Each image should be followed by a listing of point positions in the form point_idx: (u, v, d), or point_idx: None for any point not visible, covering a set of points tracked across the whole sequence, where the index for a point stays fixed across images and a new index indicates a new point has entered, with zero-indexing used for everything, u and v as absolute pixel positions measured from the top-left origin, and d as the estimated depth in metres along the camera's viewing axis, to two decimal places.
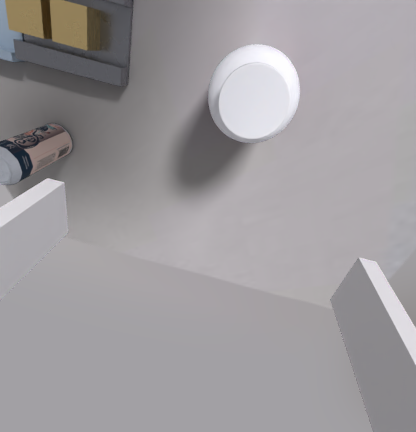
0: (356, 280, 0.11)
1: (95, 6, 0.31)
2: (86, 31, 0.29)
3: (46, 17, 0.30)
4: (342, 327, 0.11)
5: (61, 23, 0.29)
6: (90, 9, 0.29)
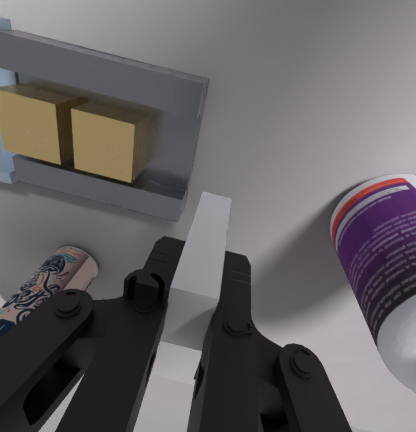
0: None
1: (142, 109, 0.19)
2: (131, 157, 0.18)
3: (65, 131, 0.18)
4: None
5: (89, 145, 0.18)
6: (139, 124, 0.17)
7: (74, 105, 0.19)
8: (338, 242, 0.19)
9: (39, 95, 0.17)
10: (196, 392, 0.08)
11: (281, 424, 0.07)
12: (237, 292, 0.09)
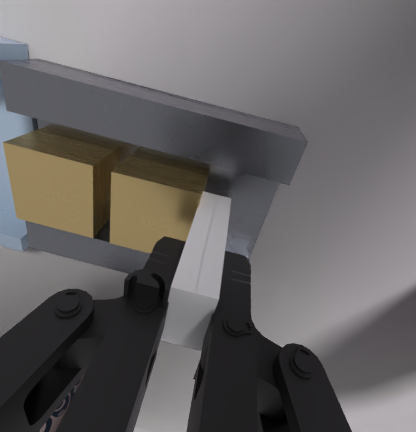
0: None
1: (203, 163, 0.14)
2: None
3: (101, 195, 0.13)
4: None
5: (133, 217, 0.13)
6: (203, 189, 0.12)
7: (113, 159, 0.14)
8: None
9: (68, 149, 0.12)
10: (196, 392, 0.08)
11: (281, 424, 0.07)
12: (237, 292, 0.09)
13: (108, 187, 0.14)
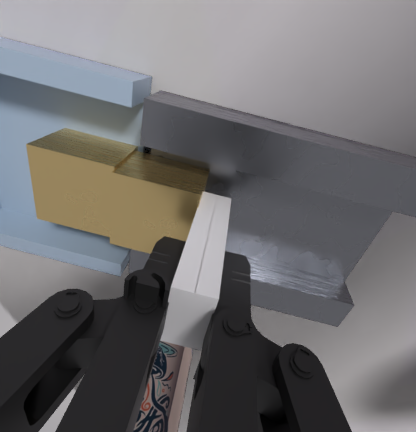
0: None
1: (317, 192, 0.14)
2: None
3: None
4: None
5: (133, 218, 0.13)
6: (203, 190, 0.13)
7: None
8: None
9: (89, 150, 0.13)
10: (196, 392, 0.08)
11: (281, 424, 0.07)
12: (236, 292, 0.09)
13: None
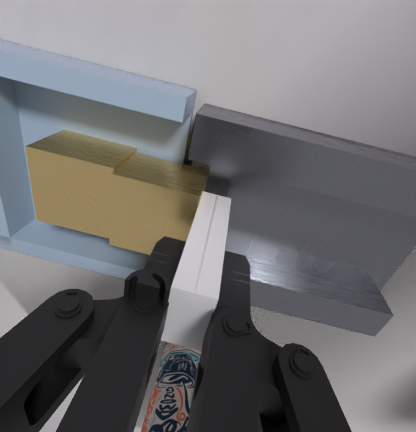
0: None
1: (358, 203, 0.14)
2: None
3: None
4: None
5: (132, 219, 0.13)
6: (202, 191, 0.12)
7: None
8: None
9: (88, 152, 0.13)
10: (195, 392, 0.08)
11: (280, 424, 0.07)
12: (236, 292, 0.09)
13: None
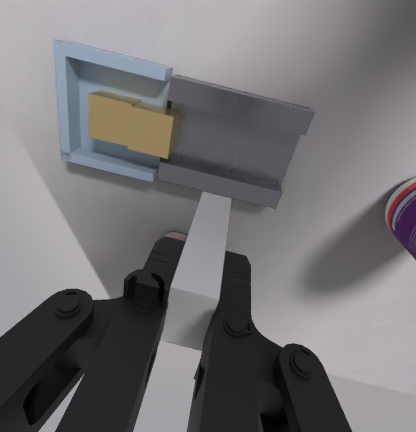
0: None
1: (259, 128, 0.27)
2: (169, 140, 0.26)
3: None
4: None
5: (140, 132, 0.26)
6: (175, 117, 0.25)
7: None
8: (396, 220, 0.27)
9: (118, 98, 0.25)
10: (196, 392, 0.08)
11: (281, 424, 0.07)
12: (237, 292, 0.09)
13: None
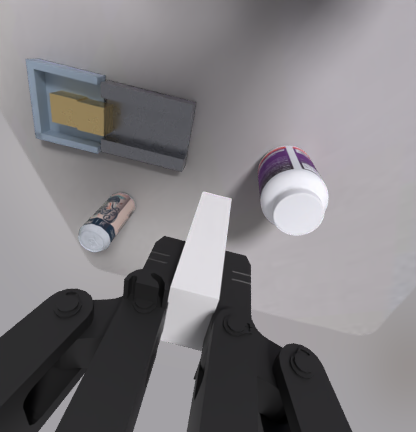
0: None
1: (165, 115, 0.40)
2: (103, 123, 0.39)
3: None
4: None
5: (84, 118, 0.39)
6: (106, 108, 0.39)
7: None
8: (258, 178, 0.40)
9: (69, 96, 0.39)
10: (196, 392, 0.08)
11: (281, 424, 0.07)
12: (237, 292, 0.09)
13: None
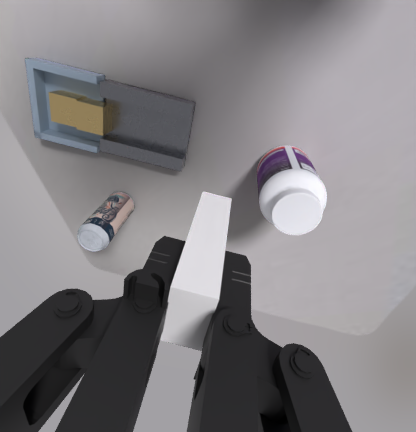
0: None
1: (164, 115, 0.40)
2: (102, 123, 0.39)
3: None
4: None
5: (83, 117, 0.39)
6: (105, 107, 0.39)
7: None
8: (257, 178, 0.40)
9: (68, 95, 0.39)
10: (196, 392, 0.08)
11: (281, 424, 0.07)
12: (237, 292, 0.09)
13: None
